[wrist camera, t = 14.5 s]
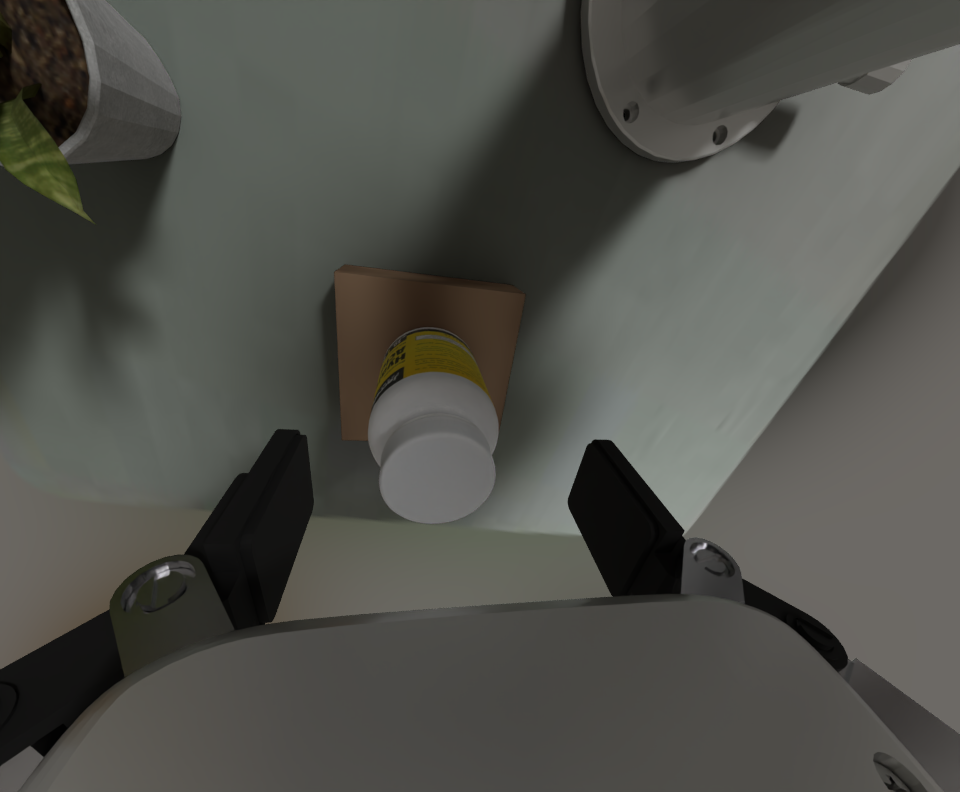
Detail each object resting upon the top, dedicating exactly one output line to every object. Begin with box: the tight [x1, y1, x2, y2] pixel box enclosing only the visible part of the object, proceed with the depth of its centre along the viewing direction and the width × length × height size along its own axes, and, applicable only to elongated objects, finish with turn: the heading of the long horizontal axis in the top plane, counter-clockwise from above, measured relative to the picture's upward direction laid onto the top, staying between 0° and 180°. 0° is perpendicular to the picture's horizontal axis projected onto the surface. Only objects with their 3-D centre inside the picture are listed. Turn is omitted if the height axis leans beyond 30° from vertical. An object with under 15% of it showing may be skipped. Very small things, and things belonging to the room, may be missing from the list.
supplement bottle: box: [368, 327, 499, 524], centre depth 16 cm, size 5×5×10 cm
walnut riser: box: [334, 265, 526, 441], centre depth 21 cm, size 10×10×3 cm
